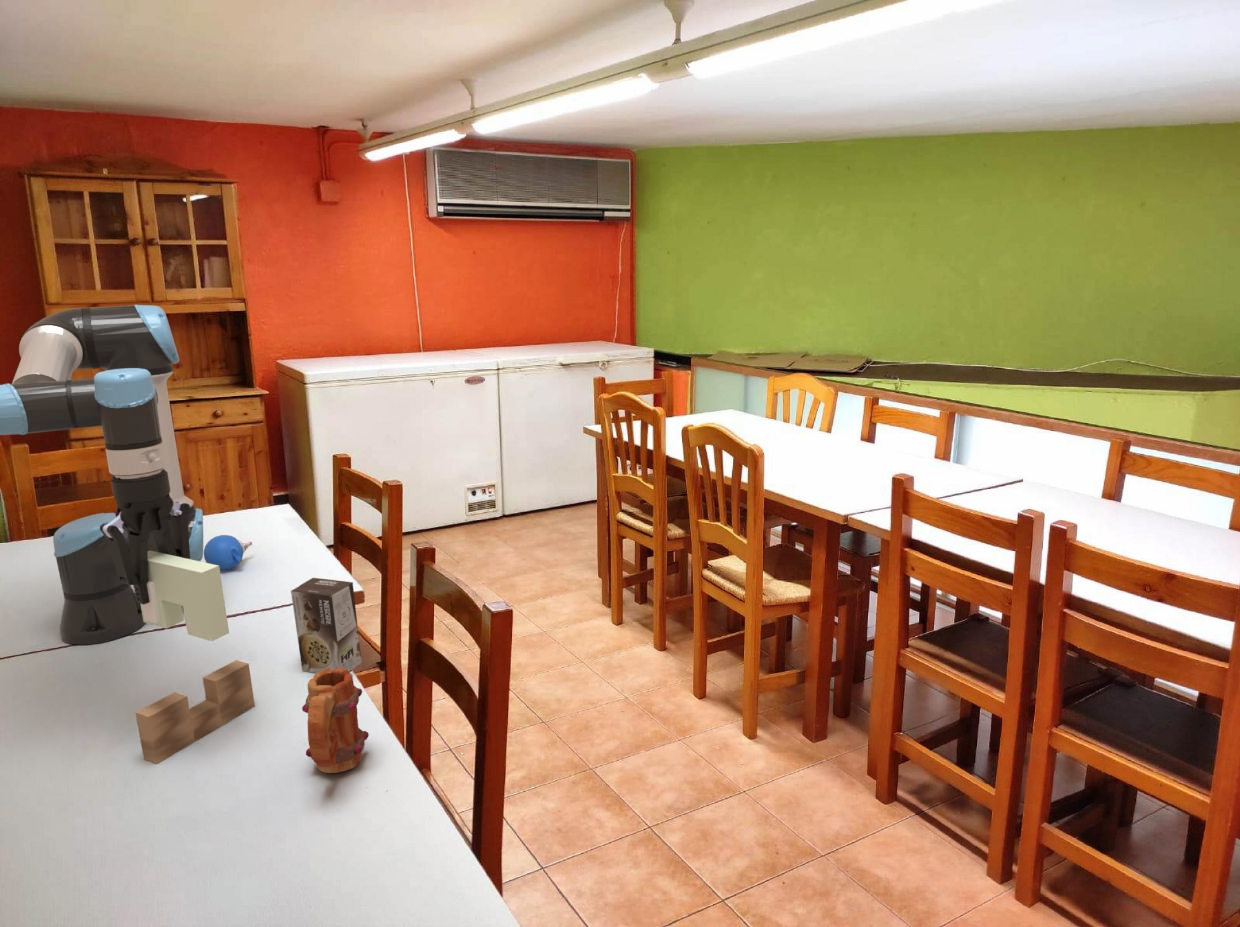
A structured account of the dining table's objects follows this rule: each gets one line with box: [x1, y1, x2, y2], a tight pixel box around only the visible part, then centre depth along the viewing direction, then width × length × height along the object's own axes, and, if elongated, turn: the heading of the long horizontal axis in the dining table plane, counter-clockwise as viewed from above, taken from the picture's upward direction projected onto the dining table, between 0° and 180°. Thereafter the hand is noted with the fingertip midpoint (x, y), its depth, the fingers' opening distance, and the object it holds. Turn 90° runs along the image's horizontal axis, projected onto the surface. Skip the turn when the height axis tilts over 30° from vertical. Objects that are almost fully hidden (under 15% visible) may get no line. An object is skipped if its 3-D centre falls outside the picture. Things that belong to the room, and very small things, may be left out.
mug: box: [301, 668, 370, 774], centre depth 122 cm, size 15×8×15 cm, turn 5°
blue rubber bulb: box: [203, 534, 253, 572], centre depth 204 cm, size 12×12×8 cm
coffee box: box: [290, 577, 362, 674], centre depth 154 cm, size 9×6×16 cm
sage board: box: [141, 551, 230, 642], centre depth 129 cm, size 16×3×11 cm, turn 63°
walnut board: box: [135, 659, 256, 765], centre depth 135 cm, size 18×3×8 cm, turn 153°
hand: (163, 615), depth 133 cm, fingers closed on sage board, 3 cm apart
